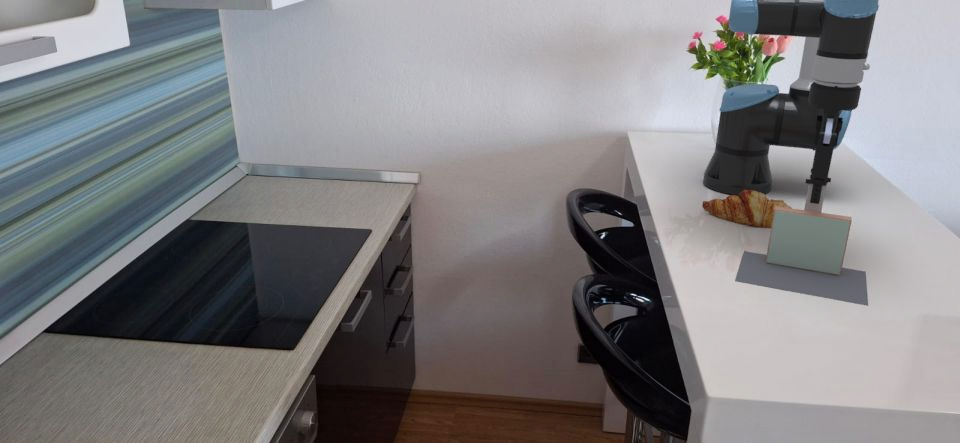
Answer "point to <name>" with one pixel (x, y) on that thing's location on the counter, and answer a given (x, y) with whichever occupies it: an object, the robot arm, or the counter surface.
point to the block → (808, 240)
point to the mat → (803, 279)
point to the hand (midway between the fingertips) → (811, 218)
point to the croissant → (745, 208)
